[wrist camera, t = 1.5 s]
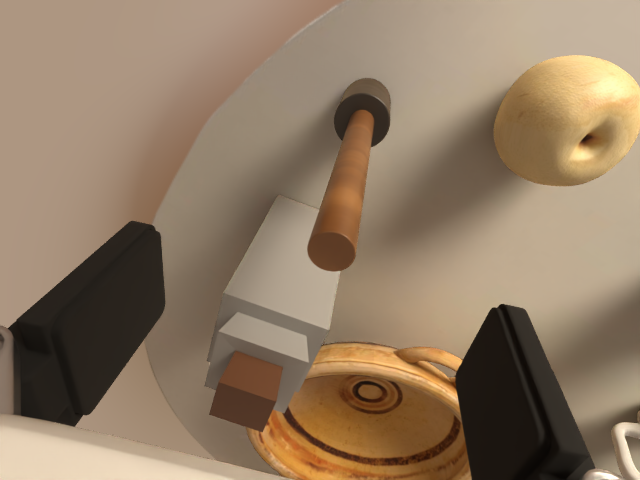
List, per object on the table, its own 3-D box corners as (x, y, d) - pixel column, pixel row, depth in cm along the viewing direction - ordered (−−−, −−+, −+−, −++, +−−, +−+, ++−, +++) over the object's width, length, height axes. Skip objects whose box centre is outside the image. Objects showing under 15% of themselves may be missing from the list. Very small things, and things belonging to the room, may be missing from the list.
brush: (347, 73, 28) (283, 191, 12) (396, 83, 28) (400, 217, 12) (338, 122, 30) (272, 282, 14) (383, 131, 30) (372, 305, 14)
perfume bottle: (349, 220, 35) (317, 394, 20) (325, 275, 39) (283, 456, 24) (278, 194, 35) (191, 350, 20) (261, 252, 38) (176, 420, 23)
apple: (492, 45, 26) (608, 28, 19) (572, 78, 29) (696, 73, 22) (455, 163, 28) (547, 186, 21) (534, 182, 31) (636, 206, 24)
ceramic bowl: (373, 469, 56) (371, 533, 49) (224, 393, 52) (199, 452, 45) (544, 366, 41) (574, 440, 34) (351, 245, 36) (342, 302, 30)
